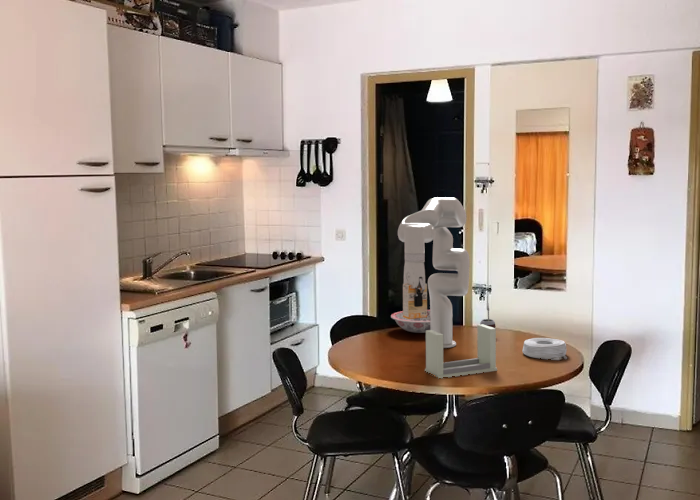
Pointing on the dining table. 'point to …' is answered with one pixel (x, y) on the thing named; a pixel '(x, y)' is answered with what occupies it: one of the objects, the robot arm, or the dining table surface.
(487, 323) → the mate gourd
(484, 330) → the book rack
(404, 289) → the supplement box
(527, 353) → the cable
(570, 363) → the dining table surface
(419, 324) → the ceramic bowl
